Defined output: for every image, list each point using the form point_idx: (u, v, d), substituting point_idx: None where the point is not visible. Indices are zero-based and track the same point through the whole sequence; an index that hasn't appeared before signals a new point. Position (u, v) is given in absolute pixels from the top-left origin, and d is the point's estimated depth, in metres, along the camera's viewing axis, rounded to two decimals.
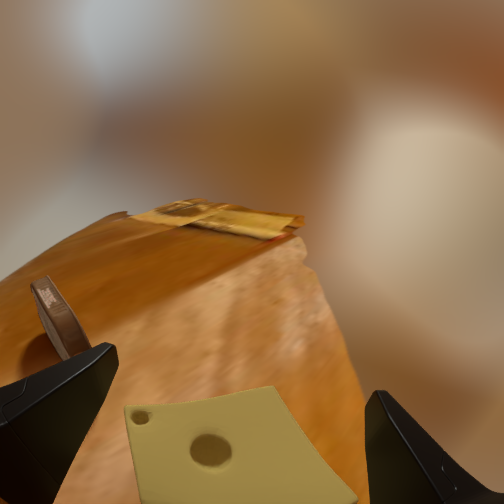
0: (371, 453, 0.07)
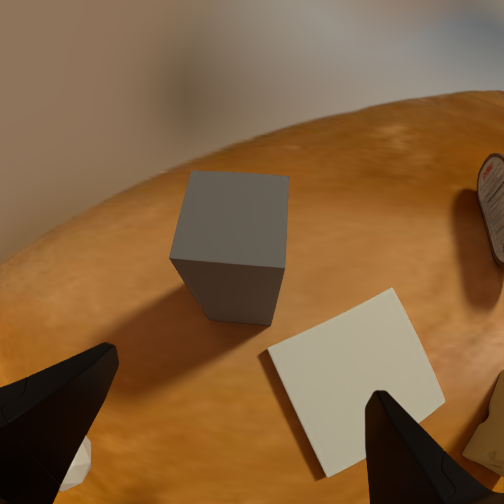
0: (371, 453, 0.07)
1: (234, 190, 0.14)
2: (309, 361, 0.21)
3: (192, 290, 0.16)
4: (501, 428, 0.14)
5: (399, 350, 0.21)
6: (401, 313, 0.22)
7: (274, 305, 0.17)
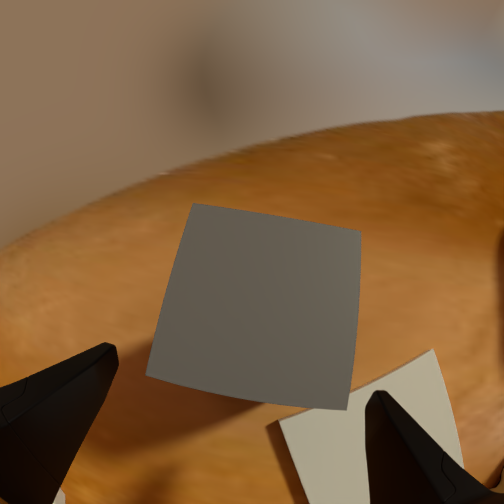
0: (371, 453, 0.07)
1: (268, 252, 0.08)
2: (328, 438, 0.15)
3: None
4: None
5: (429, 423, 0.15)
6: (438, 380, 0.16)
7: None
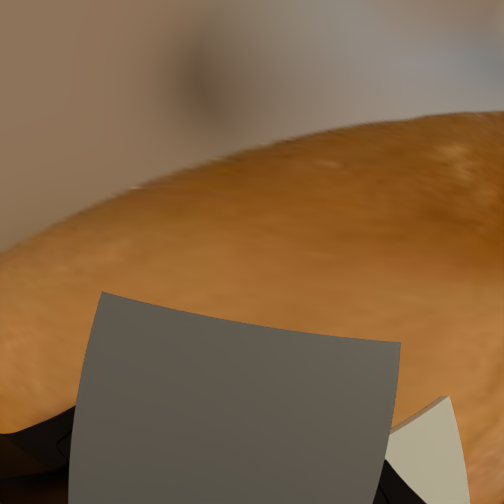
0: None
1: (228, 398, 0.04)
2: None
3: None
4: None
5: (438, 474, 0.11)
6: (452, 429, 0.12)
7: None
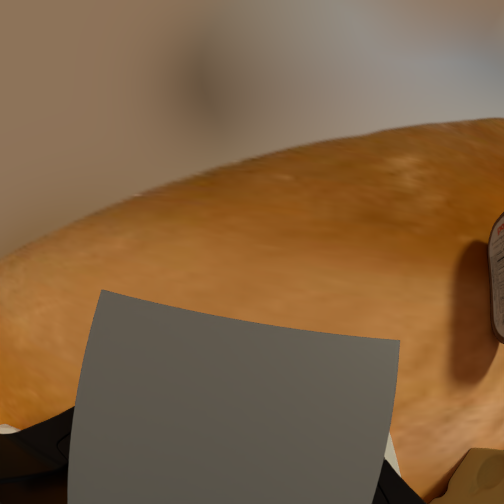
0: None
1: (227, 396, 0.04)
2: None
3: None
4: None
5: None
6: None
7: None
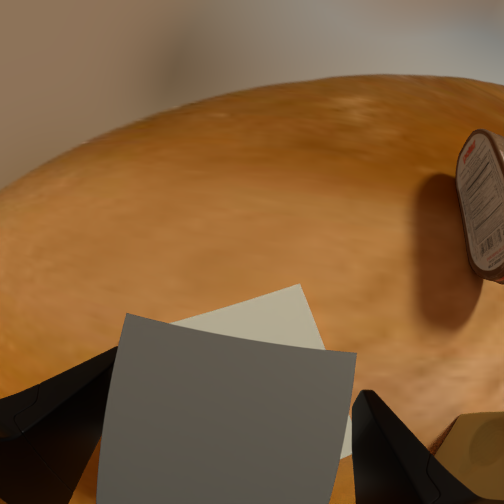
0: (357, 454, 0.07)
1: (222, 392, 0.05)
2: None
3: None
4: None
5: None
6: (307, 320, 0.18)
7: None
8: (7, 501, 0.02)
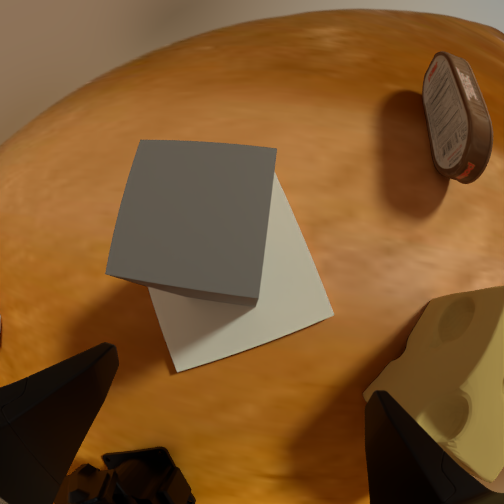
0: (371, 453, 0.07)
1: (195, 170, 0.09)
2: None
3: (152, 287, 0.13)
4: (410, 372, 0.16)
5: (270, 238, 0.21)
6: (280, 197, 0.22)
7: None
8: None
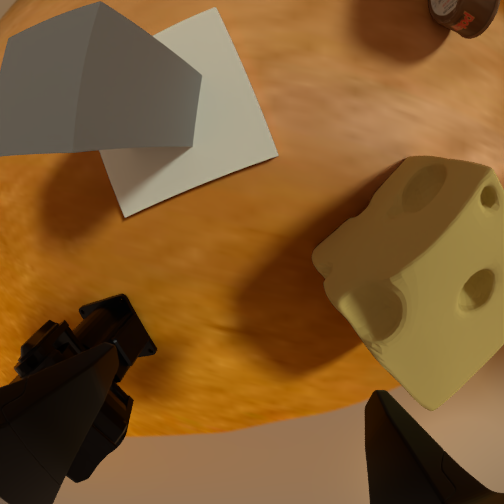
0: (371, 453, 0.07)
1: (37, 48, 0.06)
2: None
3: None
4: (358, 237, 0.16)
5: (209, 74, 0.16)
6: (221, 33, 0.15)
7: (151, 146, 0.12)
8: None
